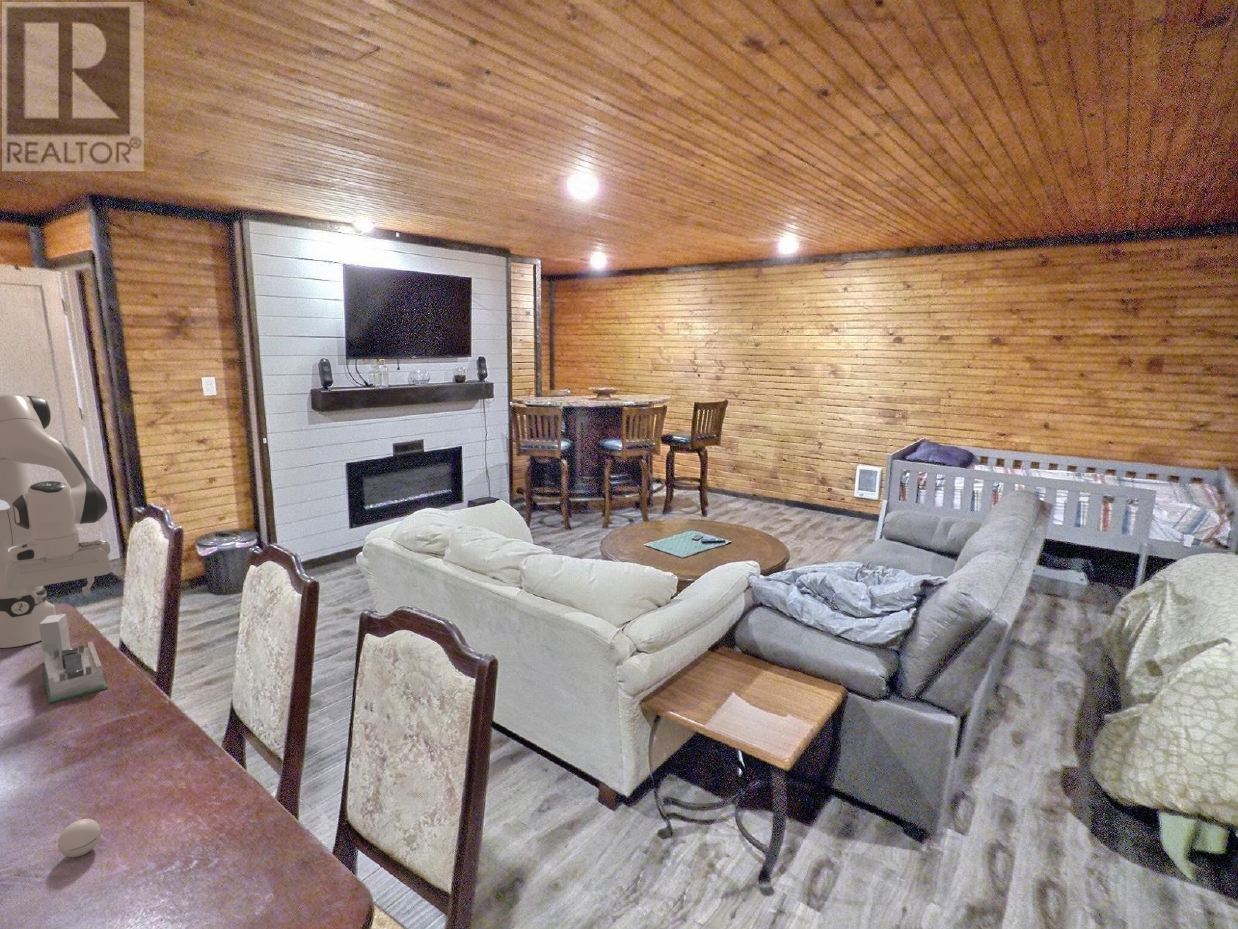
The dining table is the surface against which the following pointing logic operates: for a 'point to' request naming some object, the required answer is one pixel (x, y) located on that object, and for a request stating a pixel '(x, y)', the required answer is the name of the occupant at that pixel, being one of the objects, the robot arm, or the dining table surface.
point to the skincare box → (55, 634)
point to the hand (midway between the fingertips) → (63, 598)
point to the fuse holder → (75, 686)
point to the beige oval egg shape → (79, 838)
